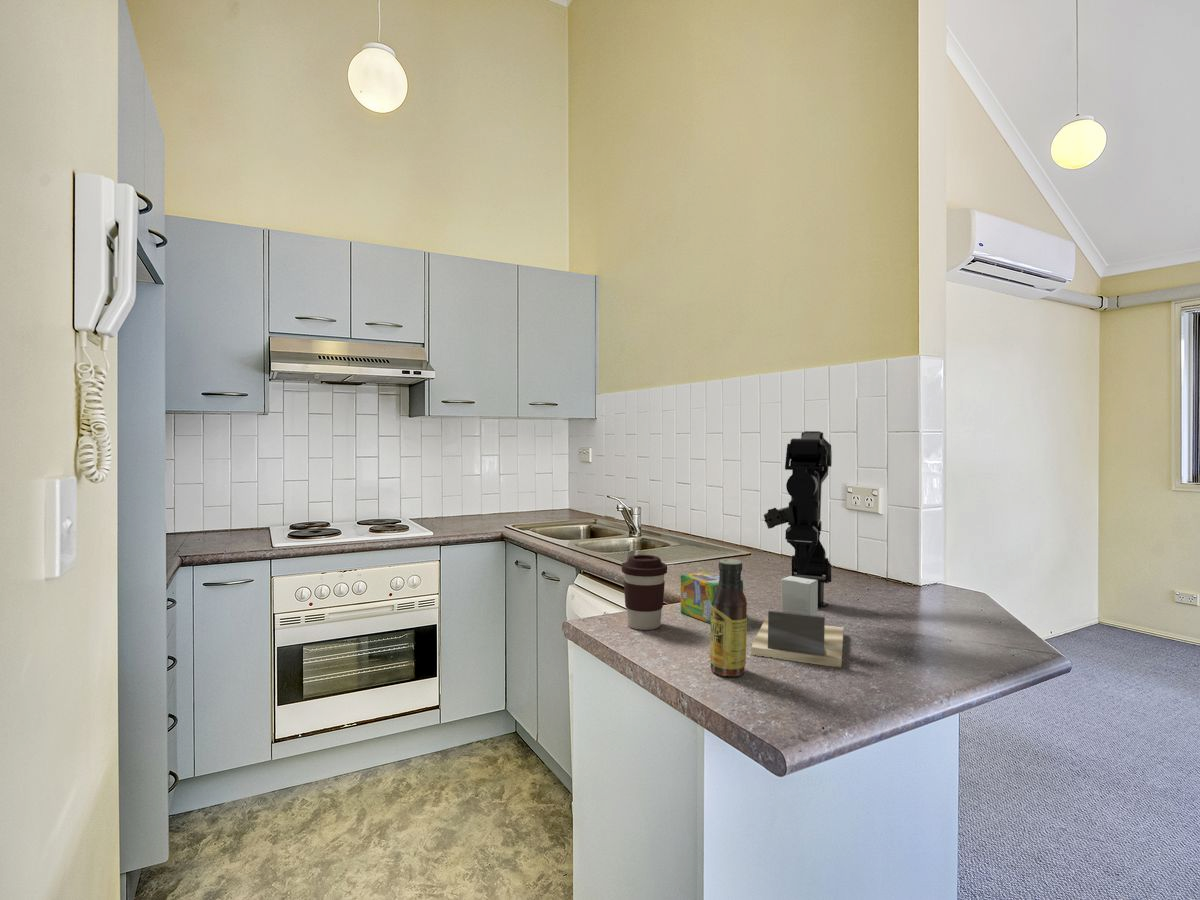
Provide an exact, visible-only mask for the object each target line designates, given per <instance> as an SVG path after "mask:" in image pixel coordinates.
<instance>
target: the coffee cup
mask: <svg viewBox="0 0 1200 900" xmlns="http://www.w3.org/2000/svg"><path fill="white" fill-rule="evenodd" d="M621 572H622V574H624V580H623V586H624V587H623V588H624V589H623V590H624V604H625V608H626V623H627V626H629V627H630V628H631V629H635V630H638V629H639V630H638V631H651V630H655V629H658V628H659V627H660V626H661V624H662V610H663V607H664V596H665V586H666V585H665V575H666V574H667V573H668V564H666V563H664V562H662V560H661V558H660V557H659V556H657V555H653V554H635V555H631V556H629V557H628V559H627V561H625V562H623V563H622V564H621Z"/></svg>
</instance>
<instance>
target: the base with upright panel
mask: <svg viewBox="0 0 1200 900" xmlns="http://www.w3.org/2000/svg"><path fill="white" fill-rule="evenodd" d="M767 614H768V615H767V618H766V617H765V618H764V620H763V623H762V624H761V626H760V628H759V630H758V633H757V635H756V637H755V638H754V640H753V642H752V644H751V647H750V655H751V656H755V655H756V656H757V657H762V656H764V657H765V658H770V657H772V659H777V658H778V659H777V660H785V661H791V662H798V663H805V664H813V665H821V666H826V667H833V668H839V669H840V668H842V663H843V662H842V659H843V645H844V626H843V627H842V626H835V625H826V624H825V619H826V617H825V616H821V615H818V616H813V615H804V614H795V613H786V612H781V611H775V610H768V611H767Z"/></svg>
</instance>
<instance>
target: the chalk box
mask: <svg viewBox="0 0 1200 900" xmlns="http://www.w3.org/2000/svg"><path fill="white" fill-rule="evenodd" d="M718 585H719V573H715V572H711V571H708V570H707V571H700V572H694V573H693V572H692V573H686V574H681V575H680V613H681V614H684V615H686V616H690V617H692V618H695V619H697V620H700V621H703V622H705V623H707V624H710V625H711V604H712V601H713V598H714V595H715V593H716V590H717V587H718ZM740 588H741V590H742V591H743V592H744V581H743V579H741V587H740Z"/></svg>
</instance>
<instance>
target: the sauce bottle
mask: <svg viewBox="0 0 1200 900" xmlns="http://www.w3.org/2000/svg"><path fill="white" fill-rule="evenodd" d="M718 570H719V573H718V574H719V585H718V587H717V590H716V593H715V595H714V598H713V601H712V604H711V624H710V636H709V637H710V639H709V662H710V670H711V671H712V672H713V674H716V675H718V676H720V677H726V676H728V678H729V677H730V678H732V677H733V678H735V677H740V676H743V675H744V673H745V669H746V668H745V666H746V662H747V661H746V659H747V635H748V634H747V631H748V630H747V629H748V615H747V610H748V609H747V607H748V602H747V598H746V595H745V593H744V590H743V591H742V590H741V588H740V587H741V580H742V570H743V562H742V561H741V560H739V559H734V558H722V559H720V560H719V561H718Z"/></svg>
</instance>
